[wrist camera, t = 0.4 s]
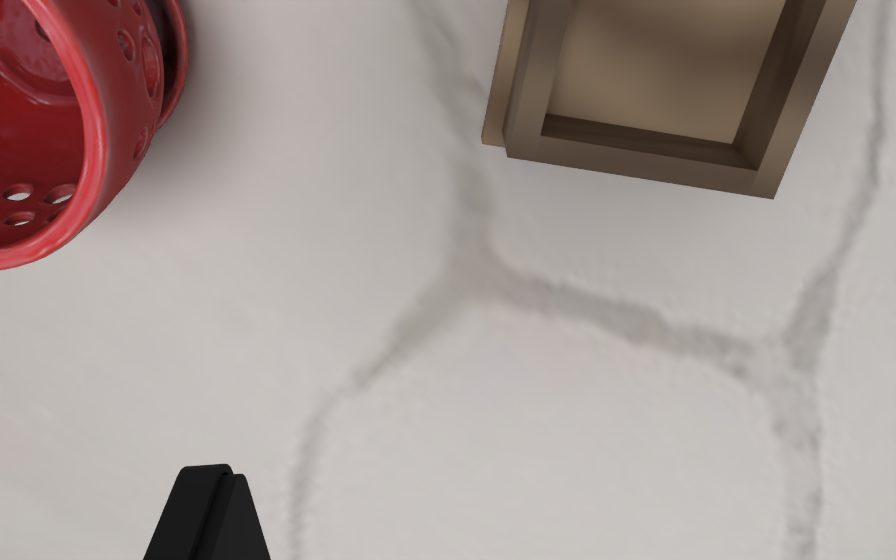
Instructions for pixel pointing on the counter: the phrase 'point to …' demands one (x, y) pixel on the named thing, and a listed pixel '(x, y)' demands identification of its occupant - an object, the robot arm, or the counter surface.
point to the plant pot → (79, 110)
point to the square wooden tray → (663, 86)
